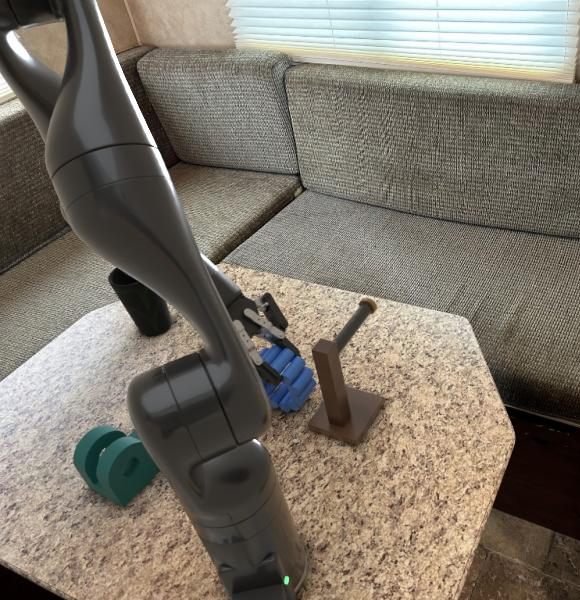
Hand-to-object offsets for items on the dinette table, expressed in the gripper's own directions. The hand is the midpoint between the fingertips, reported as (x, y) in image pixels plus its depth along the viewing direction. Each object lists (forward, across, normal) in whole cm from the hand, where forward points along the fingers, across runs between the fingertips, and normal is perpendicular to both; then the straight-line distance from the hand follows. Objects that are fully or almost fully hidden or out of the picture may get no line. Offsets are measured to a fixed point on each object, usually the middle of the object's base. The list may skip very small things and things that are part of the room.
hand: (288, 371), depth 86 cm
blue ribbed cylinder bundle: (+4, 0, +6) cm, 7 cm away
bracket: (-5, -14, +16) cm, 22 cm away
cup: (-19, +6, +29) cm, 36 cm away
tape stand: (+11, +4, -1) cm, 11 cm away
